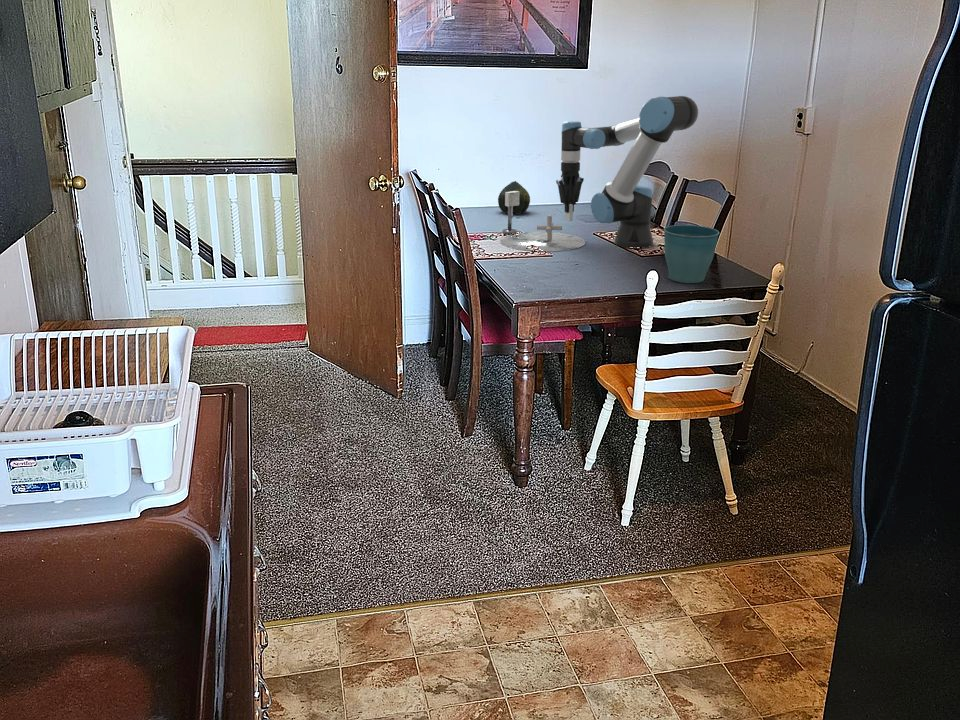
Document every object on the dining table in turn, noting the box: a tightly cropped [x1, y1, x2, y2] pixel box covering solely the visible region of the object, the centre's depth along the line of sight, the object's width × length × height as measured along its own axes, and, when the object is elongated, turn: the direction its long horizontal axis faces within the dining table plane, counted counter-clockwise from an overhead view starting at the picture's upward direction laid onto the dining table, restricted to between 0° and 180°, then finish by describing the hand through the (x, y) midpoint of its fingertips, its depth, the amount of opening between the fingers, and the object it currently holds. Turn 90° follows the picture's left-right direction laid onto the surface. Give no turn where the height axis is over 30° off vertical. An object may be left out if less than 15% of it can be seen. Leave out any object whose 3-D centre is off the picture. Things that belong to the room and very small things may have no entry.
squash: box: [497, 180, 531, 215], centre depth 400 cm, size 14×15×15 cm
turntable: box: [500, 231, 586, 253], centre depth 345 cm, size 34×34×1 cm
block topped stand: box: [501, 191, 520, 235], centre depth 357 cm, size 6×6×17 cm
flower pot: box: [663, 224, 720, 284], centre depth 290 cm, size 18×18×17 cm
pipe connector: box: [536, 214, 563, 240], centre depth 344 cm, size 10×10×10 cm
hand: (569, 220), depth 349 cm, fingers closed
